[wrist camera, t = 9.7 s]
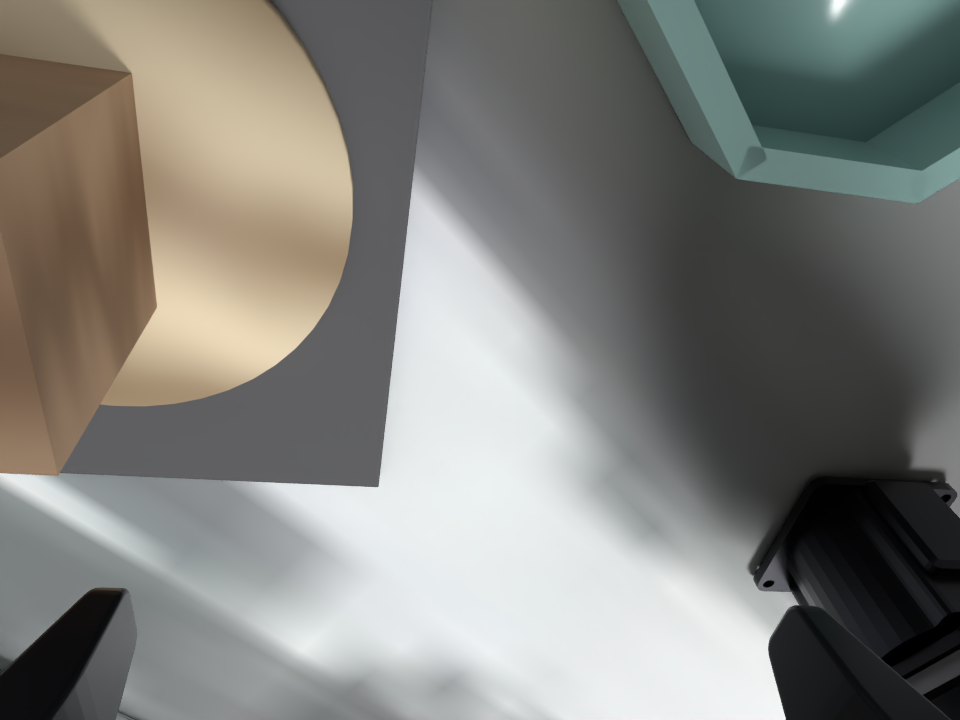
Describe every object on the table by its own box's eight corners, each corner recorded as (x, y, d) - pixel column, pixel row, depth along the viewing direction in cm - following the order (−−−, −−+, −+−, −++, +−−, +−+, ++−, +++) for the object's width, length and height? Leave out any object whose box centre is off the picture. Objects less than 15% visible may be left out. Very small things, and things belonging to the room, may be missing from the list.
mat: (378, 475, 24) (378, 487, 24) (-128, 451, 22) (-140, 464, 21) (459, -258, 14) (461, -264, 13) (-534, -497, 11) (-579, -517, 10)
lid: (340, 404, 22) (319, 597, 16) (-121, 373, 19) (-352, 585, 13) (372, -70, 15) (356, -50, 9) (-345, -206, 12) (-1044, -307, 6)
